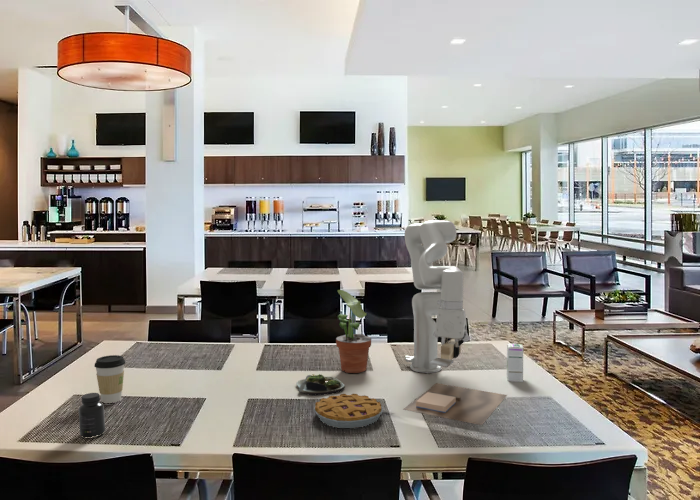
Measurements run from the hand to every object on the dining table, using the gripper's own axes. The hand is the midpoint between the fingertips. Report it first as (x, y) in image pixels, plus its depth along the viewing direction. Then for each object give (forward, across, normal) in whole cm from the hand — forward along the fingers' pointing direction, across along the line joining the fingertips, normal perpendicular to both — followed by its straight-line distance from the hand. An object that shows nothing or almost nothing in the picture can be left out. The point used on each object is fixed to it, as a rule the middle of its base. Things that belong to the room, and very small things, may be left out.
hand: (450, 356), depth 197 cm
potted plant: (+15, -44, +8) cm, 47 cm away
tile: (+11, 0, -10) cm, 14 cm away
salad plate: (+15, -45, -16) cm, 50 cm away
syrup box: (+15, +16, +26) cm, 34 cm away
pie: (+15, -22, -34) cm, 43 cm away
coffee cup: (+15, -100, -62) cm, 119 cm away
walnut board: (+14, +5, -8) cm, 17 cm away
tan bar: (0, 0, -3) cm, 3 cm away
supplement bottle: (+14, -81, -84) cm, 117 cm away
